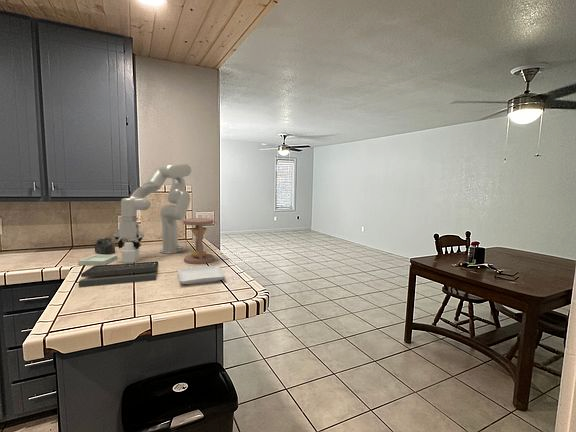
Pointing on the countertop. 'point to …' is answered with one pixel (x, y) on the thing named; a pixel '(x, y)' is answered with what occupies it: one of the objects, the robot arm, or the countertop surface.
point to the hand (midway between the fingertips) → (129, 248)
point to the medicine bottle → (130, 252)
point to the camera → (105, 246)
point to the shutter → (119, 270)
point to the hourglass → (198, 241)
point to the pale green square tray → (97, 260)
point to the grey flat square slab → (200, 274)
